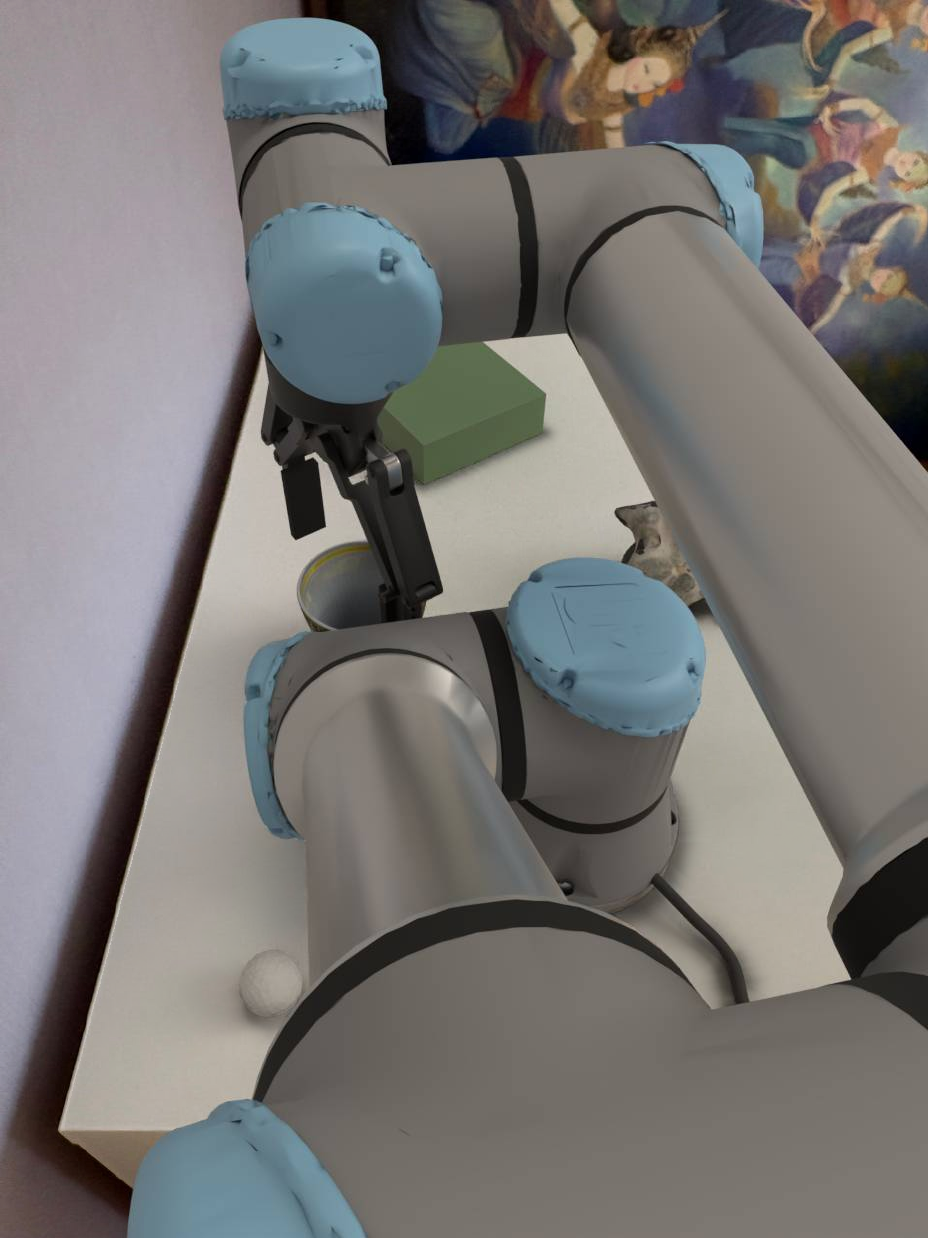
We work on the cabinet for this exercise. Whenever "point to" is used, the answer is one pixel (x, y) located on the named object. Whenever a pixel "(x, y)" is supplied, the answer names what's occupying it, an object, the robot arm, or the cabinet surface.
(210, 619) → the cabinet surface
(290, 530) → the robot arm
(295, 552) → the cabinet surface
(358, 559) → the ceramic cup
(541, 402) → the green block
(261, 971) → the golf ball
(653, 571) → the decorative stone
